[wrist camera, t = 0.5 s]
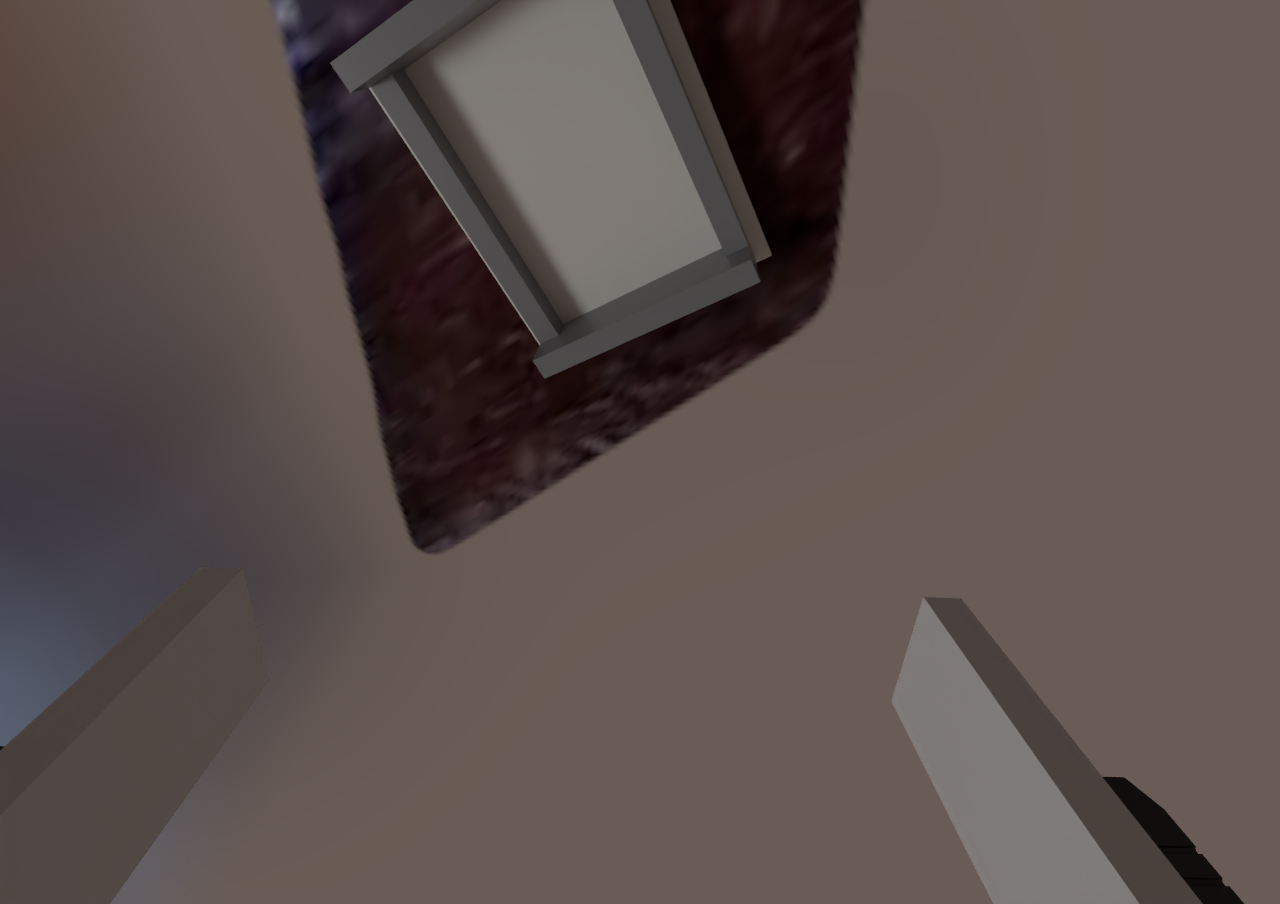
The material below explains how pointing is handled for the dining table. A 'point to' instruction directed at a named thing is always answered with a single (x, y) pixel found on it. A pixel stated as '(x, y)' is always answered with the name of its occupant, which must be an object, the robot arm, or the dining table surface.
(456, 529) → the dining table surface
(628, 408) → the dining table surface
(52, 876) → the robot arm
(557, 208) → the frame
